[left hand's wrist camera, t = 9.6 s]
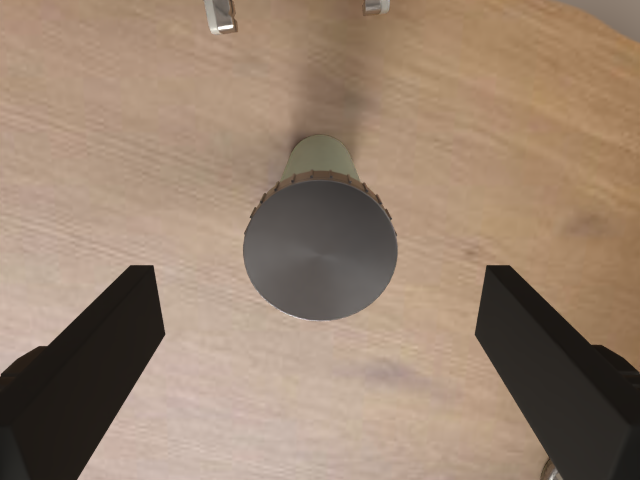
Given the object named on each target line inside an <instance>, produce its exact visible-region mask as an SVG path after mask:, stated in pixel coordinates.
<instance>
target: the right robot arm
mask: <svg viewBox="0 0 640 480" xmlns="http://www.w3.org/2000/svg"><path fill="white" fill-rule="evenodd" d="M204 4H205V9H206V14H207V19H208V24H209V28H210V31H211V33H212V34H214V35H221V34H228V33H235V32H238V24H237V21H236V20H235V19H234V16H235V14H236V12H235V7H234V2H233V1H232V0H204ZM389 6H390V0H364V3H363V5H362V11H363V16H369V15H378V14H386V13H387V12H388V11H389Z"/></svg>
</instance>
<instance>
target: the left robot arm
mask: <svg viewBox="0 0 640 480" xmlns="http://www.w3.org/2000/svg"><path fill="white" fill-rule="evenodd" d="M164 336H165V330H164V324H163V318H162V313H161V307H160V301H159V295H158V289H157V284H156V278H155V272H154V266H153V265H130V266H129V267H128V268H127V269H126V270H125V271H124V272H123V273H122V274H121V275H120V276H119V277H118V278H117V279H116V280H115V281H114V282H113V283H112V284H111V285H110V286H109V287H108V288H107V289H106V290H105V291H104V292H103V293H102V294H101V295H100V296H98V297H97V298H96V299H95V300H94V301H93V302H92V303H91V304H90V305H89V306H88V307H87V308H86V309H85V310H84V311H83V312H82V313H81V314H80V315H79V316H78V317H77V318H76V319H75V320H74V321H73V322H72V323H71V324H70V325H69V326H68V327H67V328H66V329H65V330H64V331H63V332H62V333H61V334H60V335H59V336H57V337H56V338H55V339H54V340H53V341H52V342H51V343H50V344H49V345H48V346H39V347H37V348H35V349H33V350H32V351H30V352H28V353H27V354H25V355H23V356H22V357H20V358H18V359H17V360H16V361H15V362H13V363H12V364H11V365H10V366H9V367H8V368H7V369H6V370H5V371H4V372H3V373H2V374H1V377H0V480H77V479H78V477H79V476H80V474H81V472H82V471H83V469H84V467H85V466H86V464H87V462H88V461H89V459H90V457H91V456H92V454H93V453H94V451H95V449H96V448H97V446H98V444H99V443H100V441H101V439H102V438H103V436H104V434H105V433H106V431H107V430H108V428H109V426H110V425H111V423H112V421H113V420H114V418H115V416H116V415H117V413H118V411H119V410H120V408H121V407H122V405H123V403H124V402H125V400H126V398H127V397H128V395H129V393H130V392H131V390H132V388H133V387H134V385H135V384H136V382H137V380H138V379H139V377H140V375H141V374H142V372H143V370H144V369H145V367H146V365H147V364H148V362H149V361H150V359H151V357H152V356H153V354H154V352H155V351H156V349H157V347H158V346H159V344H160V342H161V341H162V339H163V338H164ZM475 336H476V338H477V339H478V341H479V342H480V344H481V346H482V347H483V349H484V351H485V352H486V354H487V356H488V357H489V359H490V361H491V362H492V364H493V365H494V367H495V369H496V370H497V372H498V374H499V375H500V377H501V379H502V380H503V382H504V384H505V385H506V387H507V388H508V390H509V392H510V393H511V395H512V397H513V398H514V400H515V402H516V403H517V405H518V407H519V408H520V410H521V411H522V413H523V415H524V416H525V418H526V420H527V421H528V423H529V425H530V426H531V428H532V430H533V431H534V433H535V434H536V436H537V438H538V439H539V441H540V443H541V444H542V446H543V448H544V449H545V451H546V453H547V454H548V456H549V457H550V460H549V461H548V462H547V464H546V465H545V467H544V469H543V472H542V475H541V479H540V480H640V374H639V372H638V371H637V370H636V369H635V368H634V367H633V366H632V365H631V364H630V363H628V362H627V361H626V360H625V359H624V358H623V357H621V356H619V355H618V354H616V353H614V352H613V351H611V350H609V349H608V348H606V347H604V346H602V345H591V344H590V343H589V342H588V341H587V340H586V339H585V338H584V337H583V336H581V335H580V334H579V333H578V332H577V331H576V330H575V329H574V328H573V327H572V326H571V325H570V324H569V323H568V322H567V321H566V320H565V319H564V318H563V317H562V316H561V315H560V314H559V313H558V312H557V311H556V310H555V309H554V308H553V307H552V306H551V305H550V304H549V303H548V302H547V301H546V300H545V299H544V298H543V297H542V296H540V295H539V294H538V293H537V292H536V291H535V290H534V289H533V288H532V287H531V286H530V285H529V284H528V283H527V282H526V281H525V280H524V279H523V278H522V277H521V276H520V275H519V274H518V273H517V272H516V271H515V270H514V269H513V268H512V267H511V266H510V265H487V266H486V272H485V278H484V284H483V289H482V295H481V301H480V307H479V313H478V318H477V324H476V330H475Z"/></svg>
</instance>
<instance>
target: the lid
mask: <svg viewBox="0 0 640 480" xmlns="http://www.w3.org/2000/svg"><path fill="white" fill-rule="evenodd" d="M250 218H251V220H250V222H249V224H248V226H247V228H246V230H245V232H244V234H245V237H244V244H243V256H244V263H245V267H246V271H247V274H248V276H249V278H250V280H251V282H252V284H253V285H254V287H255V289H256V290H257V291H258V292H259V294H260V295H261V296H262V297H263V298H264V299H265V300H266V301H267V302H268V303H269V304H271V305H272V306H274V307H275V308H276V309H278V310H280V311H282V312H283V313H286V314H288V315H290V316H293V317H296V318H300V319H304V320H310V321H331V320H337V319H341V318H344V317H348V316H350V315H353V314H355V313H357V312H359V311H361V310H363V309H364V308H366V307H367V306H369V305H370V304H371V303H373V302H374V301H375V300H376V299H377V298H378V297H379V296H380V295H381V293H382V292H383V291H384V290H385V288H386V287H387V285H388V284H389V282H390V280H391V278H392V275H393V273H394V270H395V267H396V262H397V255H398V246H397V238H396V236H397V234H396V232H395V230H394V227H393V225H392V223H391V221H390V220H391V219H392V218H391V216H390V214H389V212H388V210H387V209H385V208H384V207H383V205H382V202H381V200H380V198H379V196H378V195H375V194H374V193H373V192H372V191H371V190H370V189H369V188H368V187H367V186H366V183H363V184H362V183H361V182H359V181H358V180H356V179H354V178H352V177H350V175H349V174H347V175H344V174H341V173H337V172H332V170H329V171H321V170H320V171H313V169H311V171H309V172H303V173H299V174H297V175H296V174H295V173H294V174H293V175H292V176H291V177H289V178H287V179H285V180H283V181H281V182H280V183H279V181H278V182H277V183H276V185H275V186H274V187H273V188H272V189H271V190H270V191H269V192H268V193H267V194H266V193H264V194H263V196H262V198H261V200H260V203H259V205H258V206H257V208H256V207H255V208H254V210H253V212H252V214H251V216H250Z"/></svg>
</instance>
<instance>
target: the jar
mask: <svg viewBox="0 0 640 480" xmlns="http://www.w3.org/2000/svg"><path fill="white" fill-rule="evenodd" d="M311 169H313V171H320V170H321V171H329V170H332V172H337V173H341V174H344V175H347V174H349V175H350V177H352V178H354V179H356V180H358V181H359V182H361V181H360V179H359V176H358V174H357V171H356V169H355V166H354V164H353V161H352V159H351V156H350V154H349V152H348V150H347V149H346V147H345V146H344V145H343V144H342V143H341V142H340V141H338V140H337V139H335V138H333V137H331V136H327V135H313V136H310V137H307V138H305V139H303V140H302V141H300V142H299V143H298V144H297V145H296V147H295V148H294V149H293V151H292V153H291V155H290V158H289V160H288V163H287V165H286V168H285V170H284V173H283V175H282V178H281V180H280V182H281V181H283V180H285V179H287V178H289V177H291V176H292V175H293V174H294V173H295V174H296V175H297V174H299V173H303V172H309V171H311Z"/></svg>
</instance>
